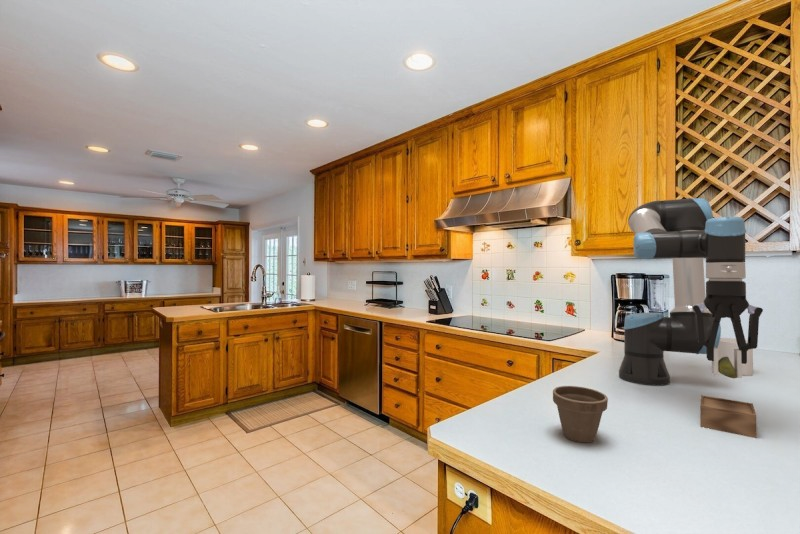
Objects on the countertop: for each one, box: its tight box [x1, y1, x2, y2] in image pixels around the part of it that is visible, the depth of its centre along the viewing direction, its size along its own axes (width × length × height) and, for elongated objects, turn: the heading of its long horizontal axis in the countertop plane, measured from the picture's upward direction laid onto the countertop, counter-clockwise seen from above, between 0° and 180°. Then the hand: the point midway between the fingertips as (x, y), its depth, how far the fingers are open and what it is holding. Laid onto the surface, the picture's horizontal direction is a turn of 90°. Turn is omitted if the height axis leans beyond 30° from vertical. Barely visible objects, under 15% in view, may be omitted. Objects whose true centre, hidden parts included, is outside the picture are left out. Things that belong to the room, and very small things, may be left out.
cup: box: [717, 337, 754, 377], centre depth 145 cm, size 12×12×12 cm
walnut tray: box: [699, 394, 758, 439], centre depth 94 cm, size 10×10×6 cm
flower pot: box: [552, 385, 609, 443], centre depth 87 cm, size 12×11×10 cm
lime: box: [718, 357, 739, 379], centre depth 93 cm, size 4×5×5 cm
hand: (726, 375), depth 94 cm, fingers closed on lime, 4 cm apart
